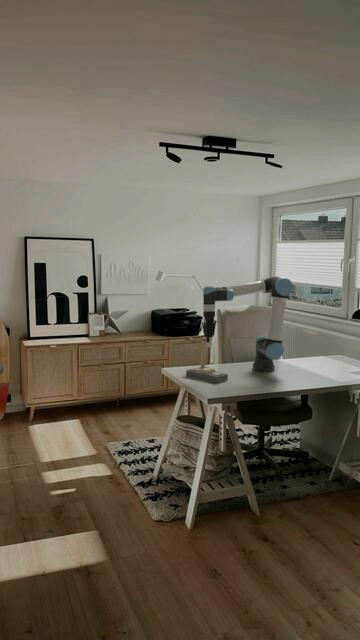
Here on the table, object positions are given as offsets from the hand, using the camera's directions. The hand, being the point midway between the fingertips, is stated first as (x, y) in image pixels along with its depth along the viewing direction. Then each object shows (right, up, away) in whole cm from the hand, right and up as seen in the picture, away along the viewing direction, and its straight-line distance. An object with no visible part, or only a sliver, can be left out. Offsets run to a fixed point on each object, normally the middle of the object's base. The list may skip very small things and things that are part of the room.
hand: (209, 347), depth 339 cm
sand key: (-2, -17, -5) cm, 17 cm away
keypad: (-2, -20, -4) cm, 20 cm away
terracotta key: (-8, -17, +1) cm, 19 cm away
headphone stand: (-2, -17, +17) cm, 24 cm away
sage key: (+4, -19, -10) cm, 22 cm away
